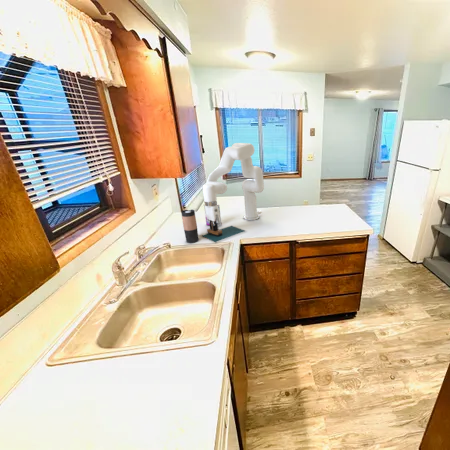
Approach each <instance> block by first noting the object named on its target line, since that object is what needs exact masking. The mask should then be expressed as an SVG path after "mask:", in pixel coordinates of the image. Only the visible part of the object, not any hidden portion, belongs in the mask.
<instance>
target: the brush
mask: <svg viewBox="0 0 450 450" xmlns="http://www.w3.org/2000/svg"><path fill="white" fill-rule="evenodd" d="M215 222H216V221H215ZM211 226H212V230H210V227H209V228H207V229H206V232H207V234H209V235H213V236H216V237H219V236H221V235H222V230H220V229H219V228H218V230H216V231H213V221H211Z"/></svg>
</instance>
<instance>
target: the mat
mask: <svg viewBox="0 0 450 450" xmlns="http://www.w3.org/2000/svg"><path fill="white" fill-rule="evenodd" d="M219 230H222V235H221V236H219V237H216V236H213V235H209V234H208V233H205V234H203V235H201V236H202V237H203V238H205V239H207V240H210V241H211V242H214V243H218V242H219V241H220V242H221V241H222V240H224V239H228V238H230V237H233V236H236V235H238V234H241V233H244V232H245V231H246V230H244V229H242V228H239V227H236V226H234V225H230V226H227V227H224V228H221V229H219Z"/></svg>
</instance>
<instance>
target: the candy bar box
mask: <svg viewBox="0 0 450 450" xmlns="http://www.w3.org/2000/svg"><path fill="white" fill-rule="evenodd" d="M217 206H218V208H219V213H220V214H221V209H220V204H217ZM203 208H204V209H203V210H205V203H204V204H203ZM204 216H205V223H206V224H205V225H206V226H209V227H210V224H209V221H208V220H207V218H206V214H205V213H204ZM221 217H222V216H220V220H219V221H220V222H219V223H218V227H221V226H222V218H221Z"/></svg>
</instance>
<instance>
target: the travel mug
mask: <svg viewBox="0 0 450 450" xmlns="http://www.w3.org/2000/svg"><path fill="white" fill-rule="evenodd" d="M180 213H181V220H182V225H183V226H182V227H183V231H184V236H185V237H184V238H185V241H186V243H188V244H194V243H197V242H198V241H199V233H198V232H199V231H198V225H197V219H196V211H195V209H190V210H189V209H183V210H181V211H180Z"/></svg>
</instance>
